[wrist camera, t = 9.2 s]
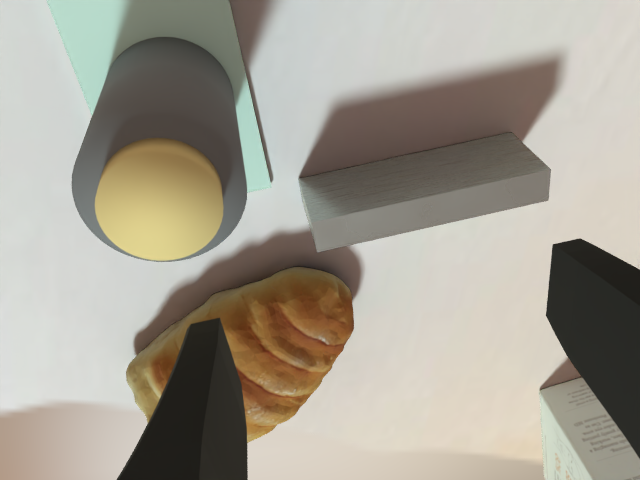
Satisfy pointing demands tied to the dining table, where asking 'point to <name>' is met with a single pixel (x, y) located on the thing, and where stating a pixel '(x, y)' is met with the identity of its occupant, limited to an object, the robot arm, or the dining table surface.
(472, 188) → the metal brackets
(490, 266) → the dining table surface
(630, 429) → the robot arm
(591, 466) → the small box
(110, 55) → the mat
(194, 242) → the grey canister
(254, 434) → the pastry
